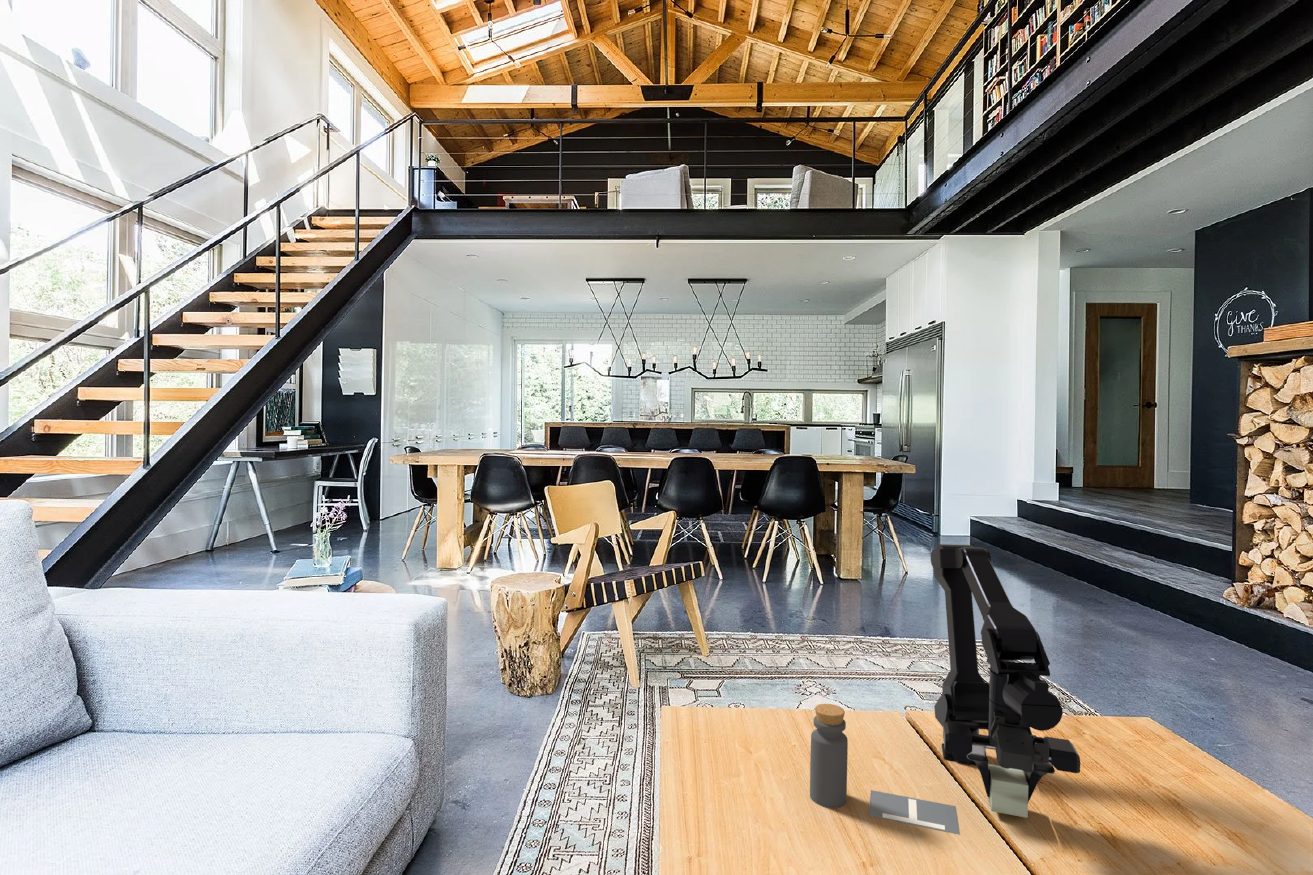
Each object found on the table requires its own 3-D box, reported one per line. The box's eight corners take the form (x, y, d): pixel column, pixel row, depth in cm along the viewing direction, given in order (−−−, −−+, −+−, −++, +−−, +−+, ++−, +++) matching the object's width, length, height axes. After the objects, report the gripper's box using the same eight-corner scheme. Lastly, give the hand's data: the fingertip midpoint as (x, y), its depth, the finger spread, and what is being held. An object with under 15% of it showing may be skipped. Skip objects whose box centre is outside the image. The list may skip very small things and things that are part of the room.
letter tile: (870, 792, 112) (870, 789, 112) (955, 808, 107) (955, 805, 107) (868, 818, 104) (868, 815, 104) (959, 836, 100) (959, 834, 100)
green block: (987, 794, 109) (988, 764, 109) (1021, 800, 107) (1022, 769, 107) (991, 810, 104) (992, 779, 104) (1027, 817, 102) (1028, 785, 102)
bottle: (847, 812, 106) (849, 718, 105) (810, 807, 107) (811, 714, 107) (845, 792, 111) (846, 703, 111) (809, 788, 113) (810, 700, 112)
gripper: (948, 712, 101) (946, 814, 101) (1091, 733, 95) (1088, 842, 95) (943, 685, 111) (941, 778, 112) (1072, 703, 105) (1069, 801, 105)
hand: (1006, 799), depth 106 cm, fingers closed on green block, 5 cm apart
